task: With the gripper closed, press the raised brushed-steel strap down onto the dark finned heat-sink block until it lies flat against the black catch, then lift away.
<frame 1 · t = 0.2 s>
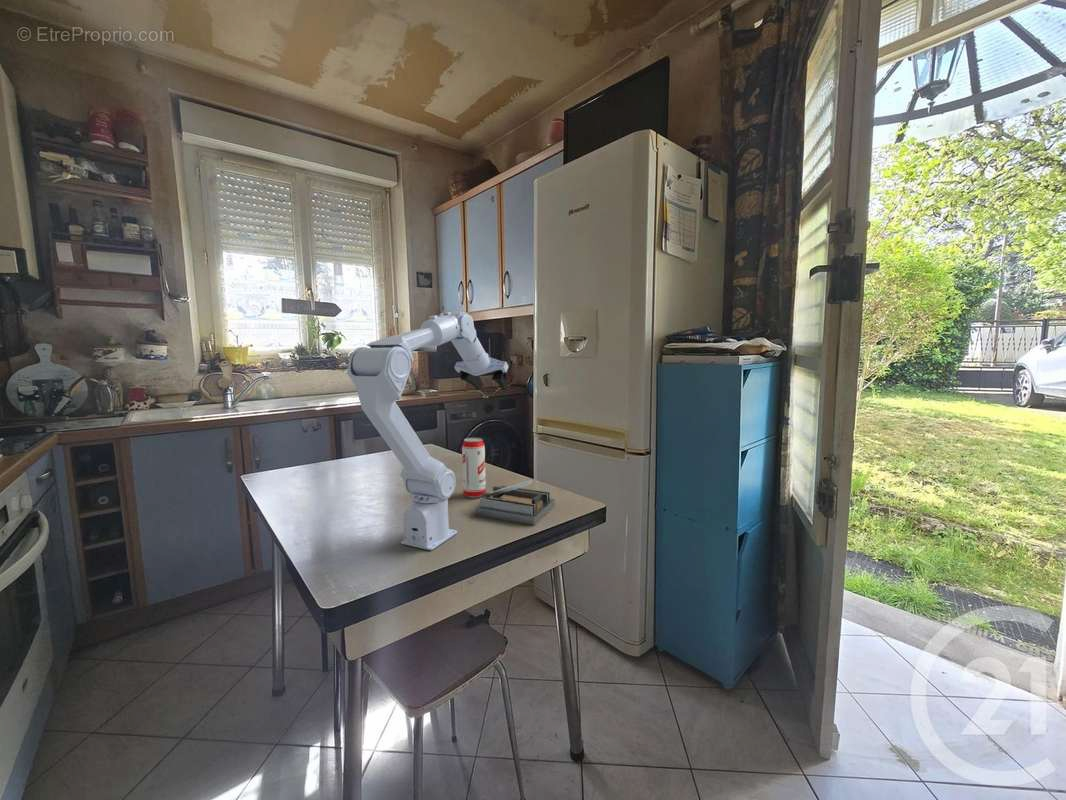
hand: (493, 387, 114), 30 cm above the table, tool tilted 45°, fingers open, 7 cm apart
beer can: (474, 496, 120), on the table
heatsink block: (516, 510, 108), on the table
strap: (509, 488, 108), point 6 cm above the table, hinge at 22.0°
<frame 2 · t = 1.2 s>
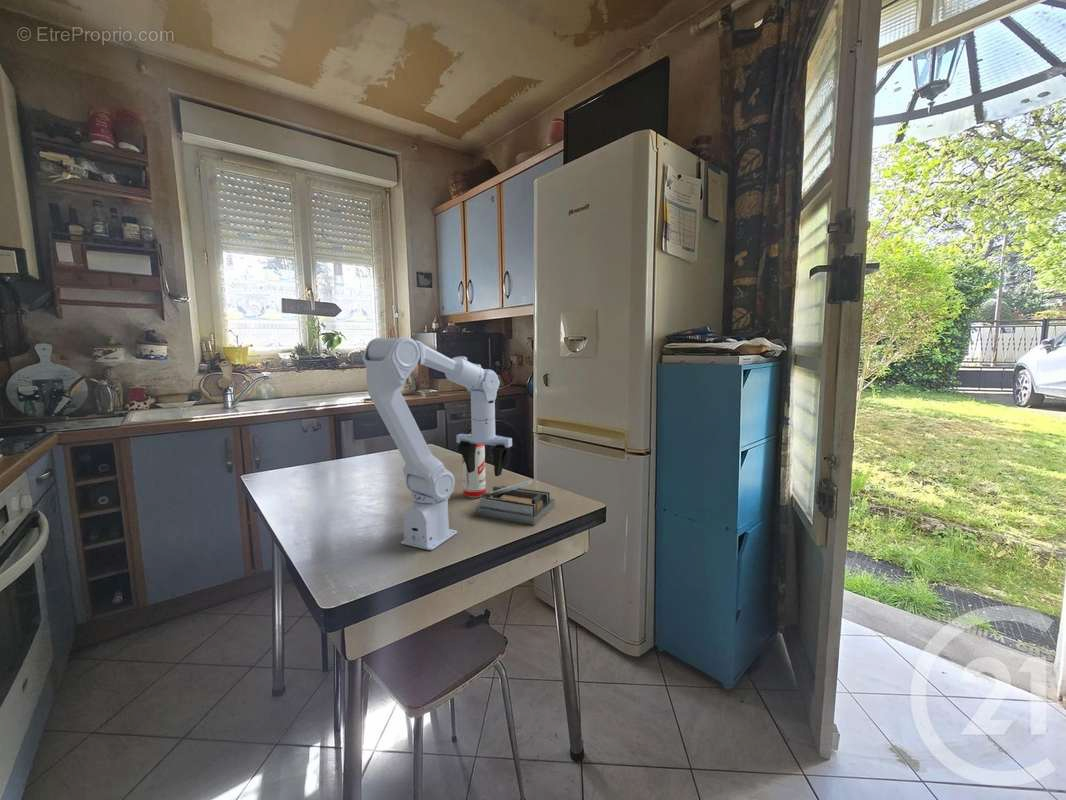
hand: (484, 473, 105), 10 cm above the table, tool pointing down, fingers open, 7 cm apart
nothing on the table moved.
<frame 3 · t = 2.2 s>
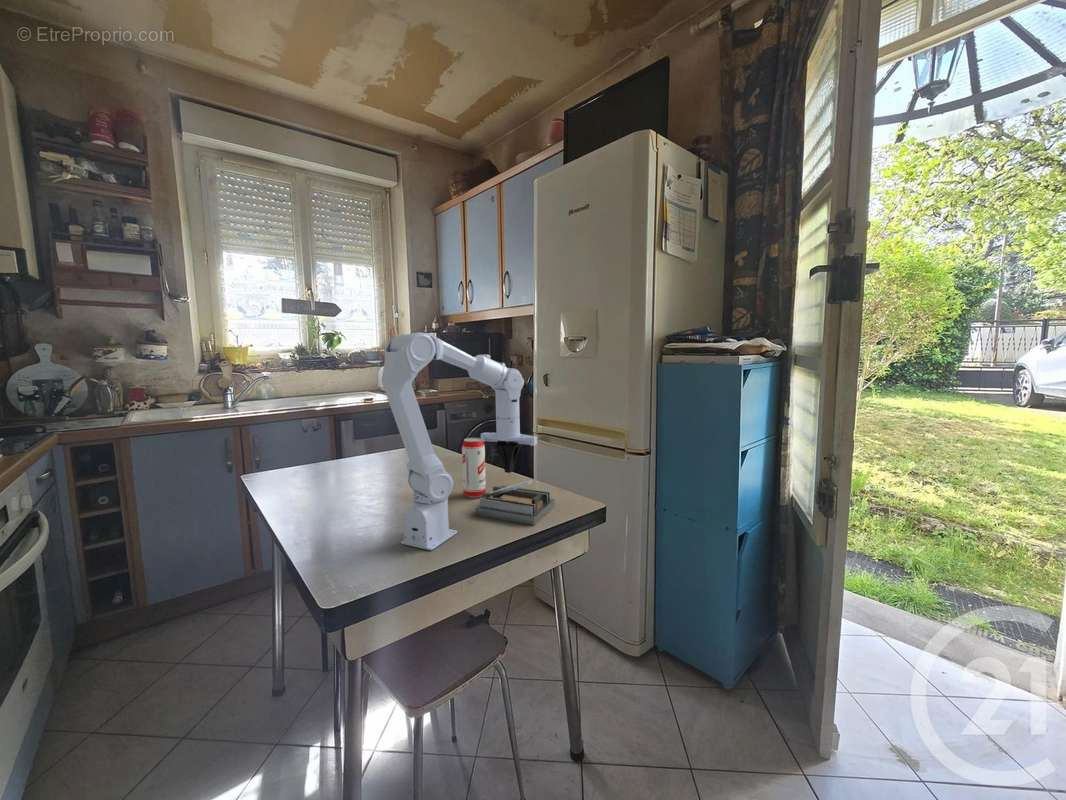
hand: (509, 471, 106), 11 cm above the table, tool pointing down, fingers closed
nothing on the table moved.
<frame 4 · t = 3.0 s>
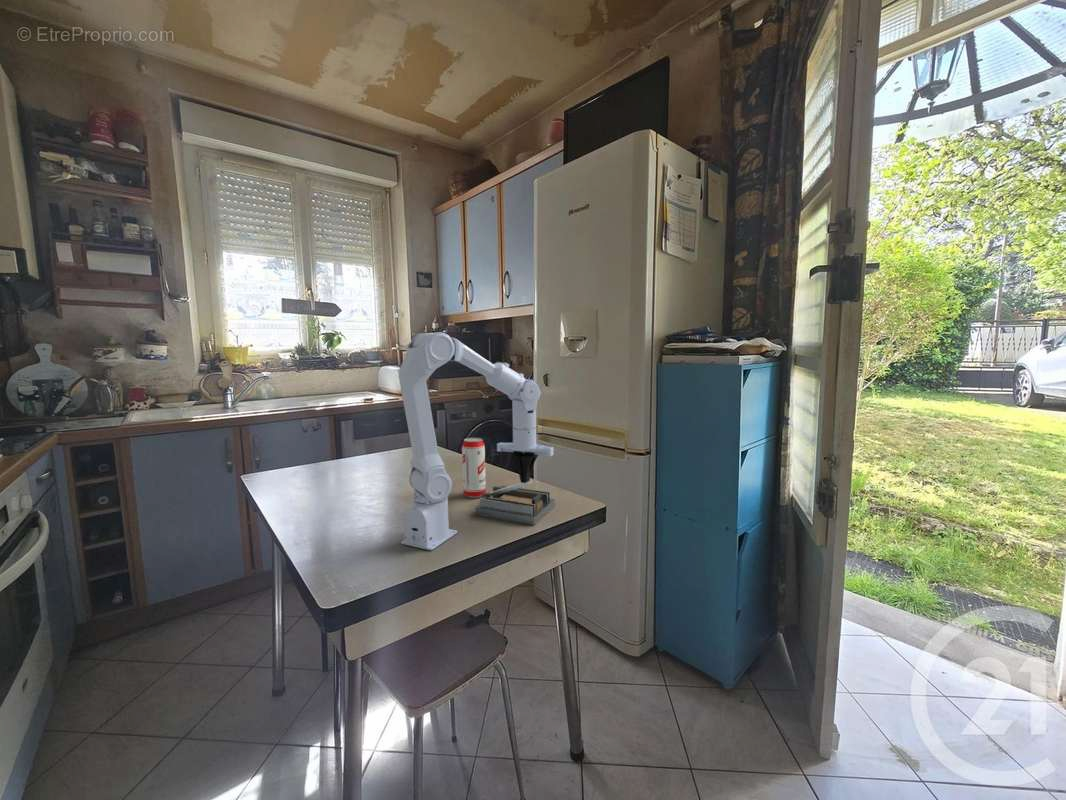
hand: (525, 481, 106), 8 cm above the table, tool pointing down, fingers closed
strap: (509, 488, 108), point 6 cm above the table, hinge at 22.0°, touching gripper
everything else where it was.
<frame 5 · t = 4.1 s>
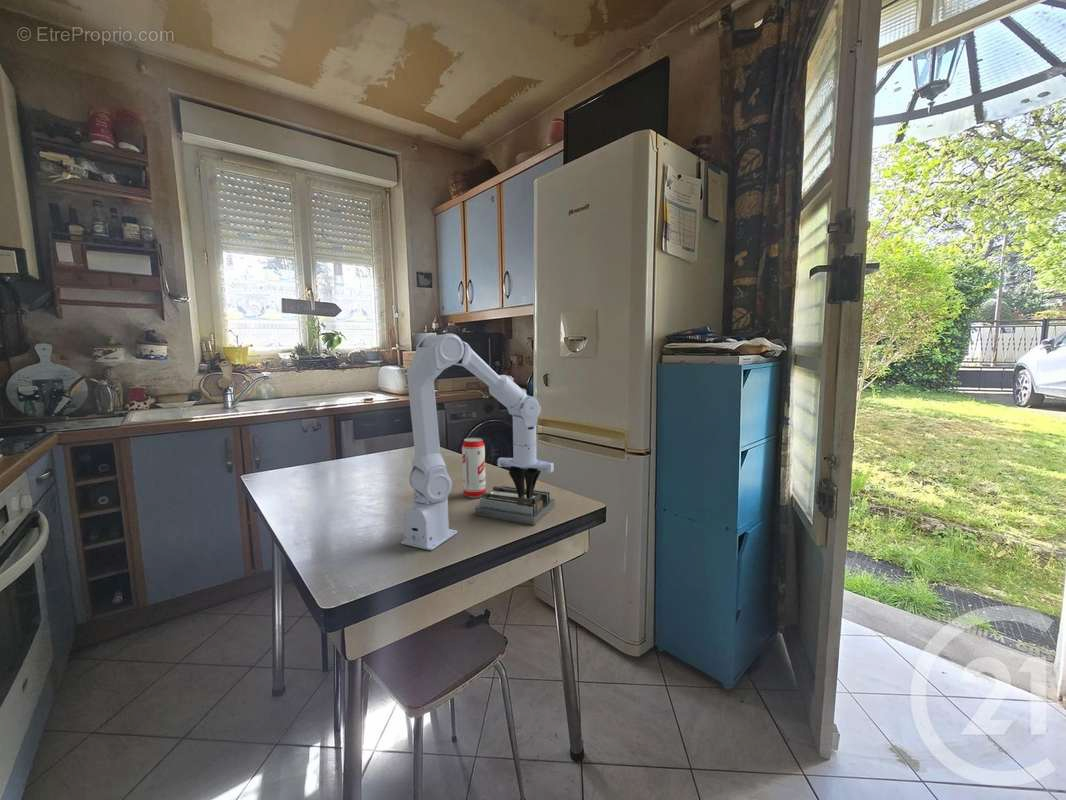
hand: (525, 497, 107), 4 cm above the table, tool pointing down, fingers closed on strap, 2 cm apart
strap: (511, 496, 108), point 4 cm above the table, hinge at 1.1°, touching gripper
everything else where it was.
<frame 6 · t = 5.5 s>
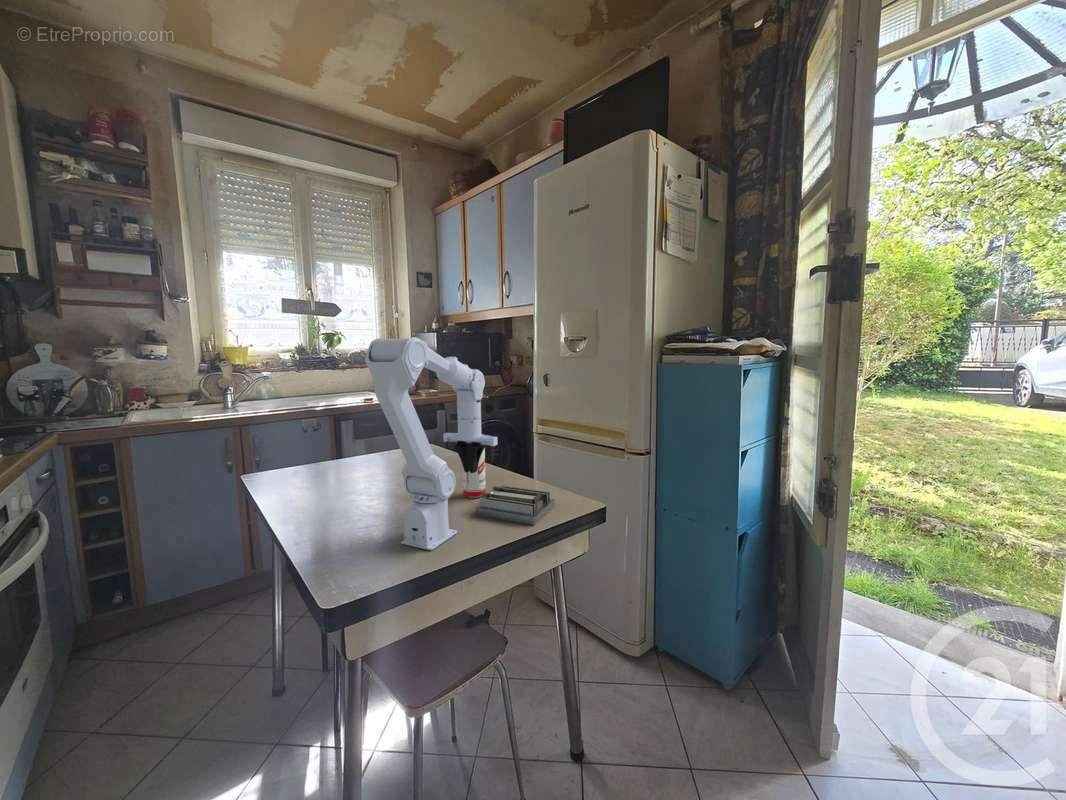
hand: (470, 471, 107), 10 cm above the table, tool pointing down, fingers closed
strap: (511, 496, 108), point 4 cm above the table, hinge at 0.9°
everything else where it was.
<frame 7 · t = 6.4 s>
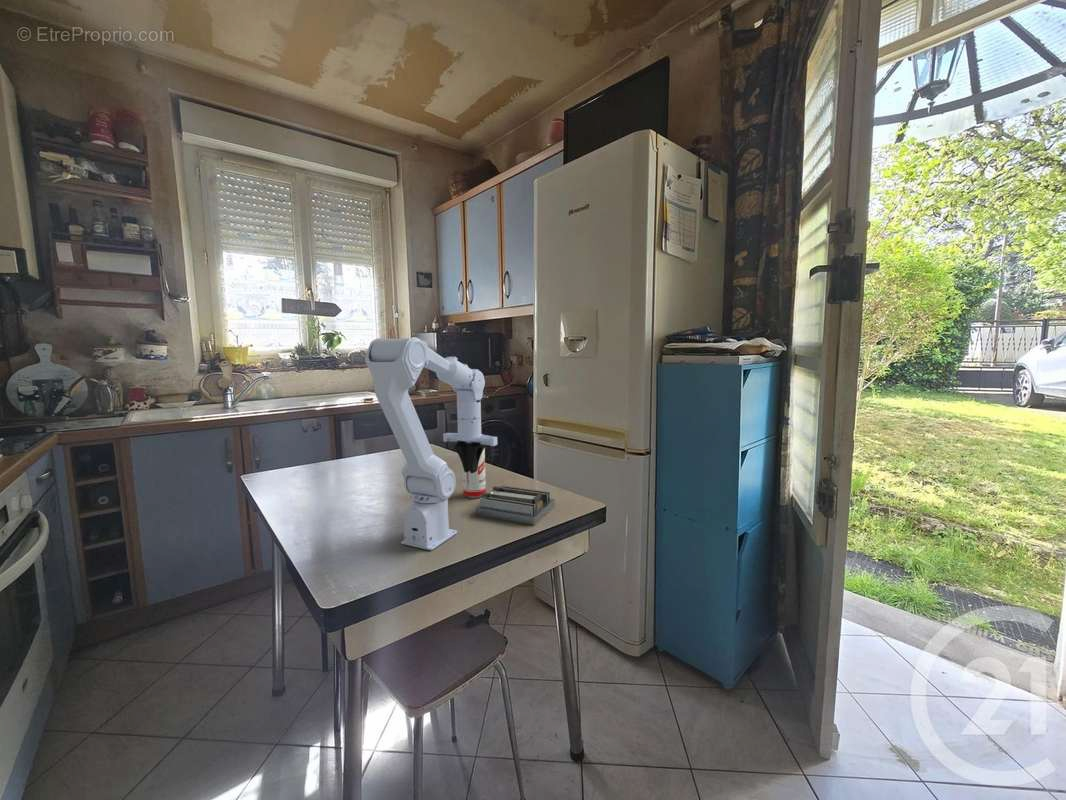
hand: (470, 471, 107), 10 cm above the table, tool pointing down, fingers closed
nothing on the table moved.
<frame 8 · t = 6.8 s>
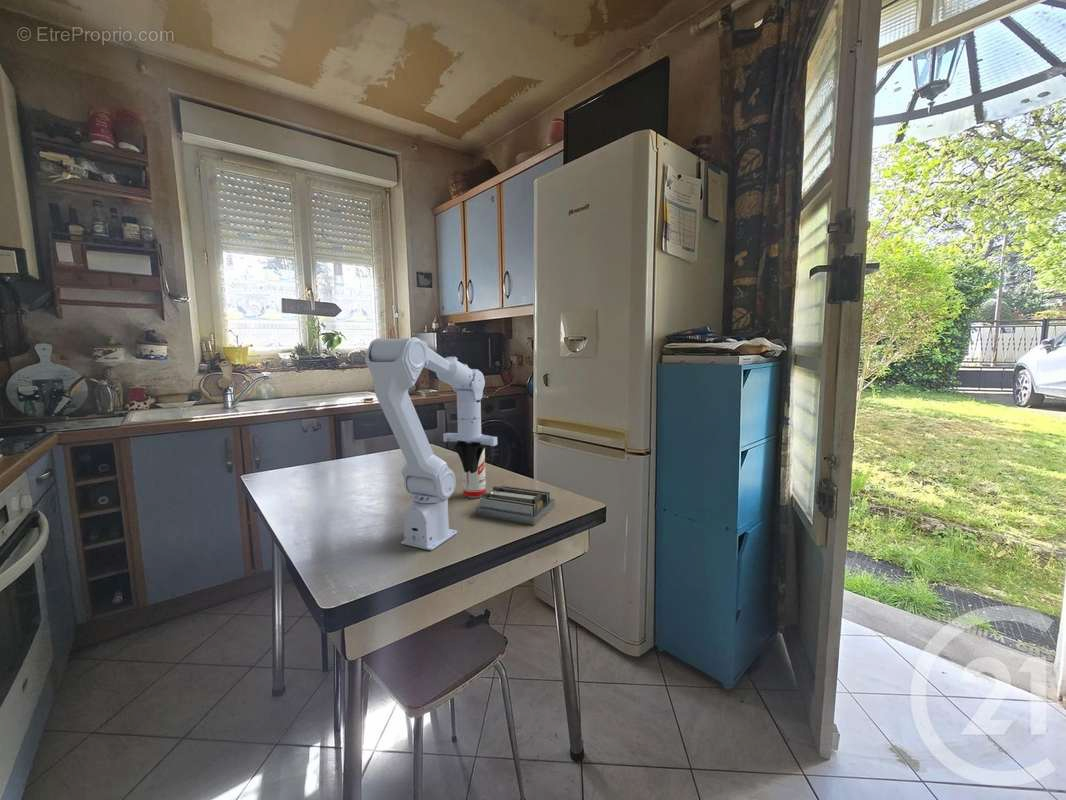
hand: (470, 471, 107), 10 cm above the table, tool pointing down, fingers closed
nothing on the table moved.
at the end: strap at +1° (first picture: +22°); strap touching nothing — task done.
